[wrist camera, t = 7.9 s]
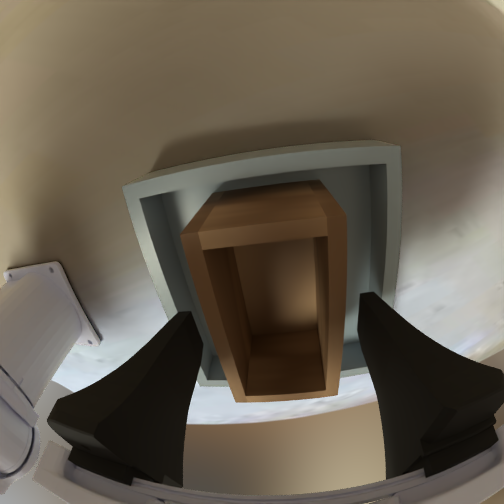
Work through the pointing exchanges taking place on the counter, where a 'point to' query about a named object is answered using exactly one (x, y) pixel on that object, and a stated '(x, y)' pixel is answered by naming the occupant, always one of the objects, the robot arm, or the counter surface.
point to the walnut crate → (273, 287)
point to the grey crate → (267, 173)
